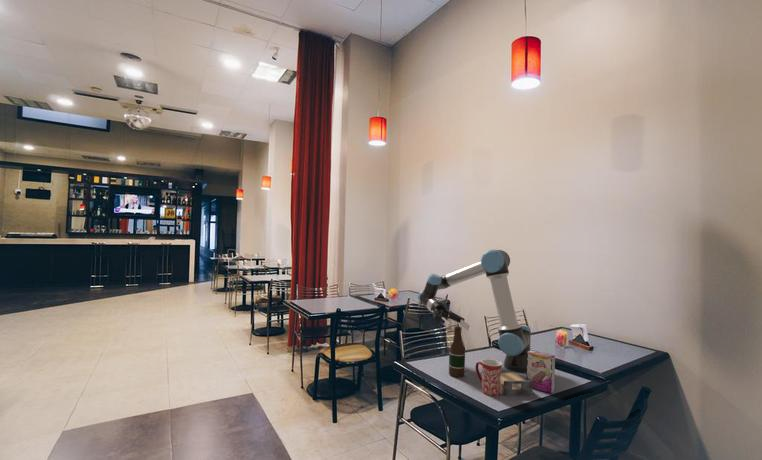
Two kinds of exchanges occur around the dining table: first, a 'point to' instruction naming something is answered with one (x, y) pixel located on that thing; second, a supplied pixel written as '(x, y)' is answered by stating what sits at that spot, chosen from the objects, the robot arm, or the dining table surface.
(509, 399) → the dining table surface
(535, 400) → the dining table surface
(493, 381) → the mug
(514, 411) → the dining table surface
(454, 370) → the beer bottle
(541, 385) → the candy bar box
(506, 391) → the shelf step
